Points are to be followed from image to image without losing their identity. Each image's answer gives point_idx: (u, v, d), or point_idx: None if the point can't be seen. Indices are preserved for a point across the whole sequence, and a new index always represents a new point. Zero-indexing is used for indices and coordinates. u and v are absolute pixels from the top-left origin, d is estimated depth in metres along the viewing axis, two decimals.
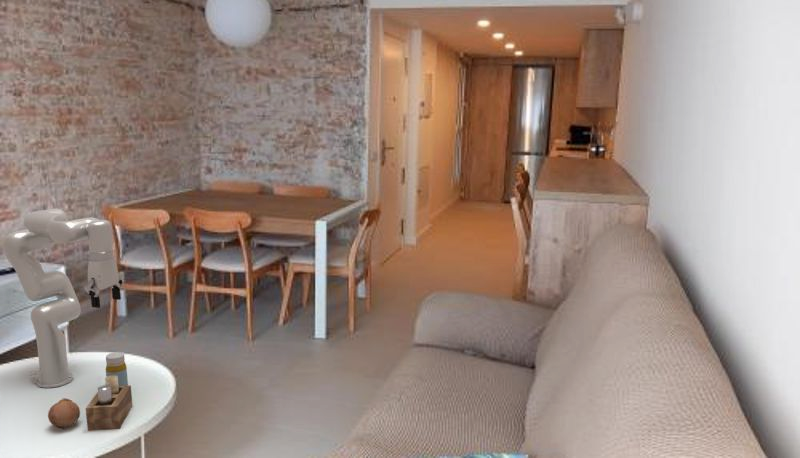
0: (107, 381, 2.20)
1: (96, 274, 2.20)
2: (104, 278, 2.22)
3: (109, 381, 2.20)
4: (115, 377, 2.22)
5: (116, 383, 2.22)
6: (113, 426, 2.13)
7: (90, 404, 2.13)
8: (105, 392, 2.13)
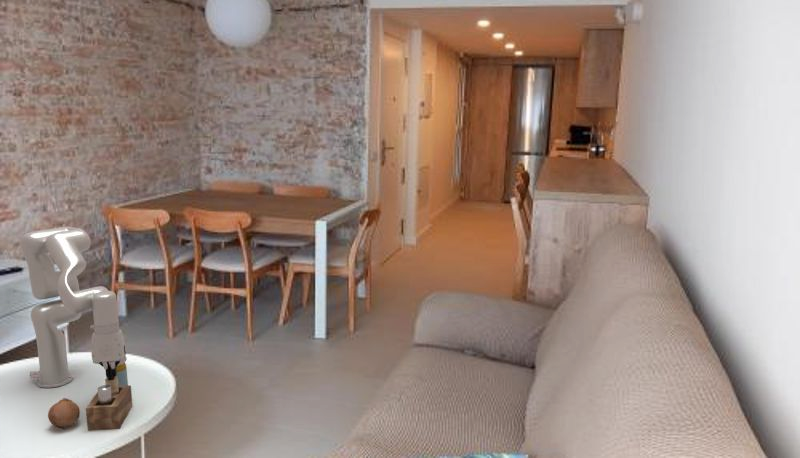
0: (107, 382, 2.20)
1: None
2: None
3: (109, 382, 2.20)
4: (115, 378, 2.22)
5: (116, 383, 2.22)
6: (113, 426, 2.13)
7: (90, 404, 2.13)
8: (105, 392, 2.13)
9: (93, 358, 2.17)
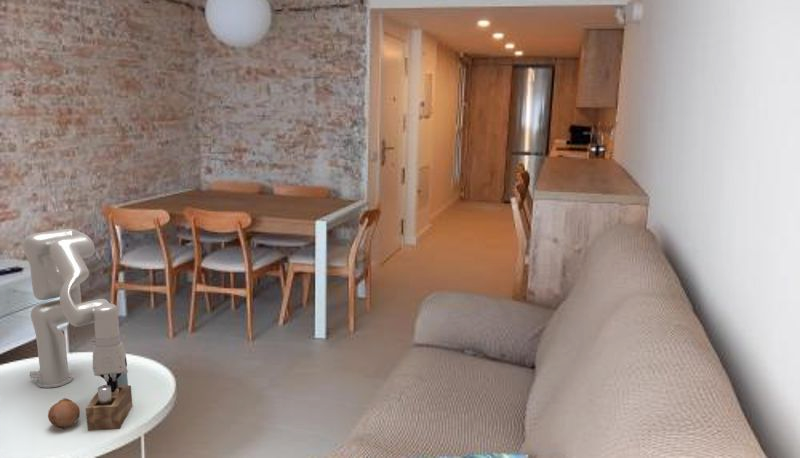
0: None
1: None
2: None
3: None
4: (116, 390, 2.23)
5: None
6: (113, 426, 2.13)
7: (90, 404, 2.13)
8: (105, 392, 2.13)
9: (94, 370, 2.18)
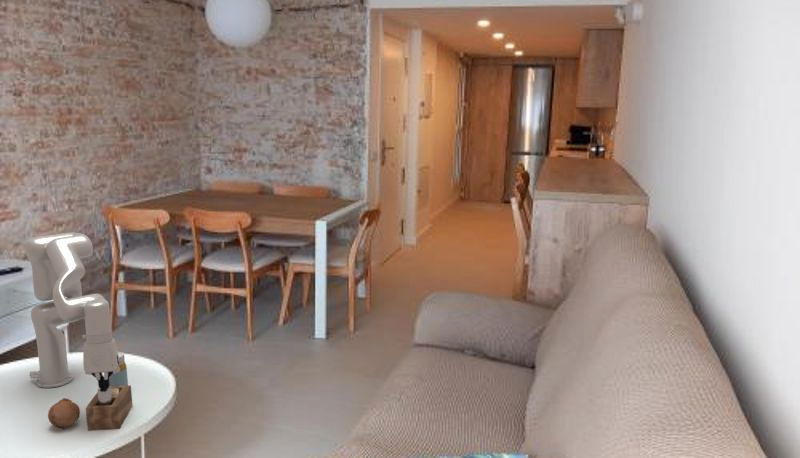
0: None
1: (117, 350, 2.14)
2: None
3: None
4: (116, 390, 2.23)
5: None
6: (113, 426, 2.13)
7: (90, 404, 2.13)
8: (105, 394, 2.13)
9: (85, 369, 2.09)
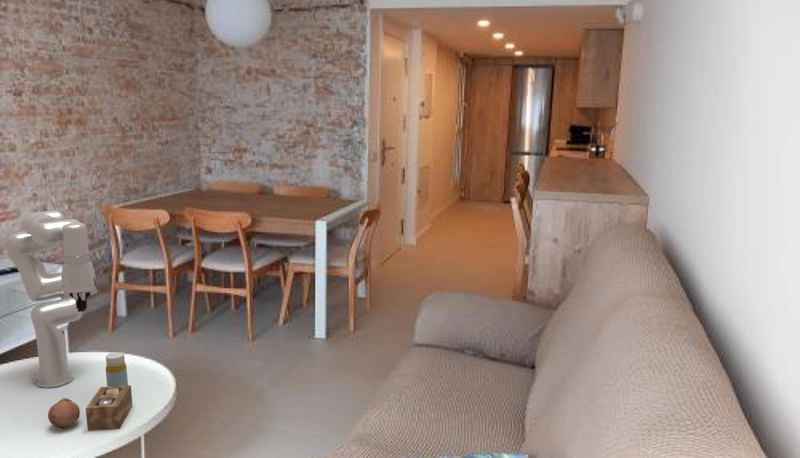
0: (108, 394, 2.21)
1: (94, 272, 2.23)
2: None
3: (110, 394, 2.21)
4: (116, 390, 2.23)
5: None
6: (113, 426, 2.13)
7: (90, 404, 2.13)
8: None
9: (63, 289, 2.19)
